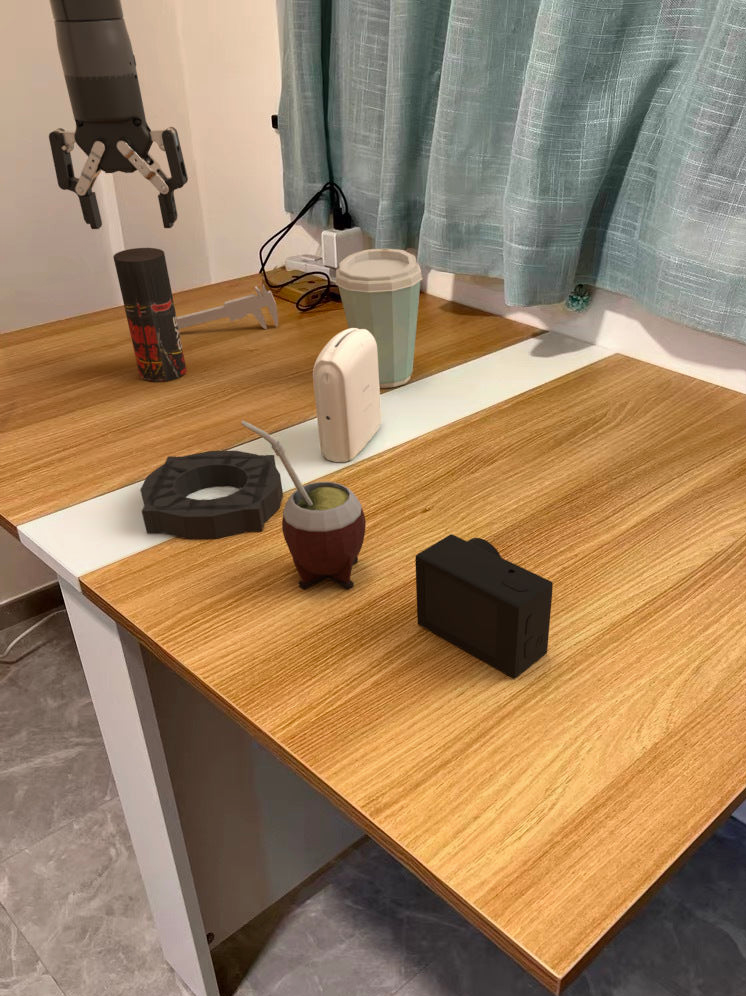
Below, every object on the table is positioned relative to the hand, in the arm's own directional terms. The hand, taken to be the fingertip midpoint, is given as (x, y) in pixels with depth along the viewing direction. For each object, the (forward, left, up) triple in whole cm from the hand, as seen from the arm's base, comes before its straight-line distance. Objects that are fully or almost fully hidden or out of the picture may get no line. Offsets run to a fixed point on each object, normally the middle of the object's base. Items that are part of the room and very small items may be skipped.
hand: (133, 227), depth 105 cm
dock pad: (+13, -34, -18) cm, 41 cm away
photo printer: (+26, -21, -18) cm, 38 cm away
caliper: (+3, +15, -18) cm, 24 cm away
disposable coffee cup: (+29, -3, -18) cm, 34 cm away
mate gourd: (+25, -47, -18) cm, 56 cm away
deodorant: (0, 0, -18) cm, 18 cm away
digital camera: (+39, -56, -18) cm, 71 cm away
